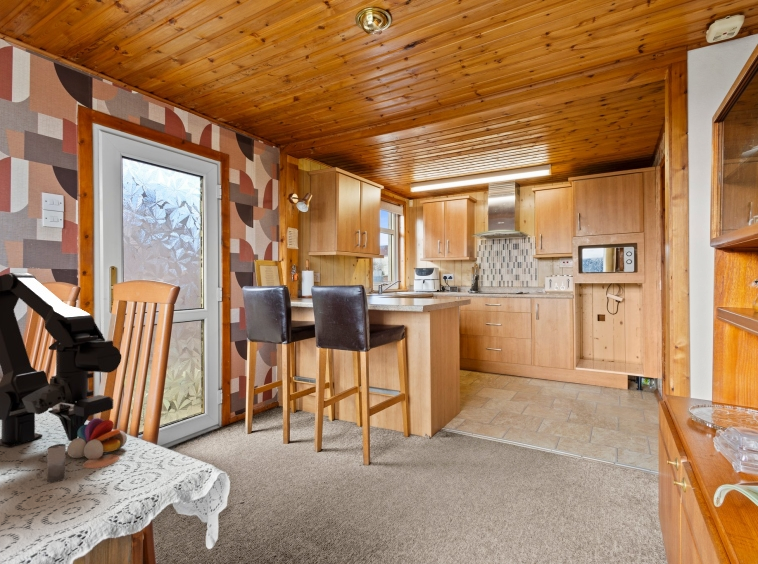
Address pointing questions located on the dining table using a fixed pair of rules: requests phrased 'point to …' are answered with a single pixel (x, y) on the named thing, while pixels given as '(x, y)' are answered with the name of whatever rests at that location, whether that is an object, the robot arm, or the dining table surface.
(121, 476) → the dining table surface
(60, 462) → the steel peg
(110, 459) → the marker disc
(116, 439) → the rainbow petal ball
